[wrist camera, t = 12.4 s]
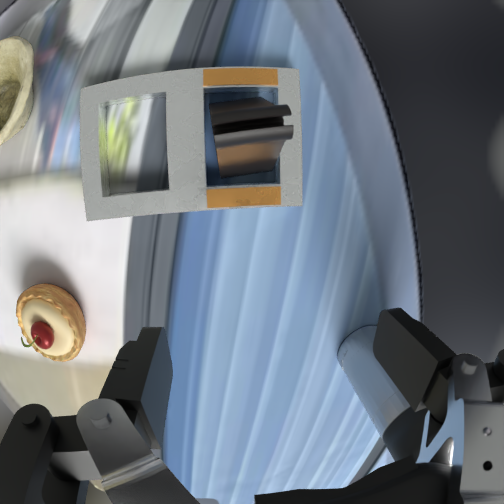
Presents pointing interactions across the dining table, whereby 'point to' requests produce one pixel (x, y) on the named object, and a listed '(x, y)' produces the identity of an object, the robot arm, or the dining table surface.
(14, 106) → the bowl
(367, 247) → the dining table surface
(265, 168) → the phone stand
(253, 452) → the dining table surface
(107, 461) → the robot arm
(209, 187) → the white slotted tray
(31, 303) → the pastry
